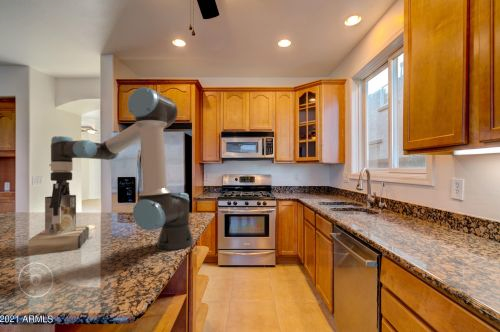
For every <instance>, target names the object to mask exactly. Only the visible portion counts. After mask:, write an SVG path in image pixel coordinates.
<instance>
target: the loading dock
mask: <svg viewBox="0 0 500 332" xmlns="http://www.w3.org/2000/svg"><path fill="white" fill-rule="evenodd" d="M89 231H90V227H89V226H87V225H83V226H76V230H73V231H70V232H66V233H62V234H59V235H46V234H45V229H44V230H42V231H41V232H39V233H37V234H35V235H34V236H31V238H29V239H28V243H27V245H28V247H27V248H28V249H27V253H28V254H27V255H28V256H33V255H34V256H35V255H40V254H41V255H42V254H50V253H60V252H66V251H67V252H68V251H74V250H76V251H77V250H79V249H81V248H82V247H83V246H84V244H85V243H86V241H87V240H88V239H89V234H90V233H89Z"/></svg>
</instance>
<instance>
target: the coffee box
mask: <svg viewBox="0 0 500 332" xmlns="http://www.w3.org/2000/svg"><path fill="white" fill-rule="evenodd" d="M51 198H52V195H51V196H45V197H44V230H45V234H46V235H59V234H62V233H66V232H70V231H73V230H76V227H77V194H70V195H62V200H61V204H60V207H61V223H56V224H52V208H49V206H50V204H51Z"/></svg>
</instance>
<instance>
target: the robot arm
mask: <svg viewBox="0 0 500 332" xmlns="http://www.w3.org/2000/svg"><path fill="white" fill-rule="evenodd" d="M127 110H128V111H129V112H130V114H131V115H132V116H134V121H135V122H134V123H133V124H131V125H130V126H128V127H127V128H125V129H123V130H122V131H120V132H118V133H117V134H115V135H114V136H112V137H111V138H109V139H107V140H105V141H104V142H94V141H92V140H85V139H81V140H73V138H72V137H69V136H64V135H63V136H61V135H60V136H58V135H57V136H56V135H55V136H52V137H51V142H50V143H51V144H50V164H49V165H48V166H49V167H50V171H51V173H50V181H51V182H52V181H55V183H53V184H52V194H51V196H52V198H51V204H50V206H49V208H52V224H56V223H61V207H60V204H61V200H62V195H71V193H70V192H71V191H70V182H69V181H72V180H73V172H72V171H73V168H74V167H73V159H91V160H92V159H95V160H107V161H109V160H116V159H117V158H118V157H119V155H120V152H122V151H124V150H126V149H127V148H129V147H131V146H132V145H134V144H136V143H138V142H140V155H141V172H142V173H141V174H142V175H141V176H142V178H141V179H142V191H141V192H140V193H139V194H138V199H139V201H137V202H136V203H135V205H134V206H133V210H132V217H133V220H134V222H135V224H137V225H138V226H139V227H140V228H141V229H143V230H147V231H152V230H153V231H154V230H158V229H160V232H159V235H158V237H157V238H158V239H157V241H156V243H157V244H156V247H157V248H158V249H160V250H166V251H167V250H168V251H171V250H172V251H173V250H174V251H175V250H180V249H185V248H189V247H191V246H192V245H193V244H194V237H193V233H192V231H191V229H190V198H189V197H190V196H189V194H188V193H186V192H171V190H169V189H168V187H167V172H166V156H165V135H164V134H165V133H164V130H165V129H166V128H168V127H170V126H172V124H174V122H175V121H176V120H177V119H178V115H179V114H178V113H179V111H178V107H177V104H176V103H175V102H174V100H172V99H171V98H170V97H167V96H165V95H164V94H161V93H159V92H158V91H156V90H154V89H151V88H149V87H145V86H143V87H138V88H137V89H135V90H134V91H133V92H132V93H131V94H130V95H129V98H128V100H127Z"/></svg>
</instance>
